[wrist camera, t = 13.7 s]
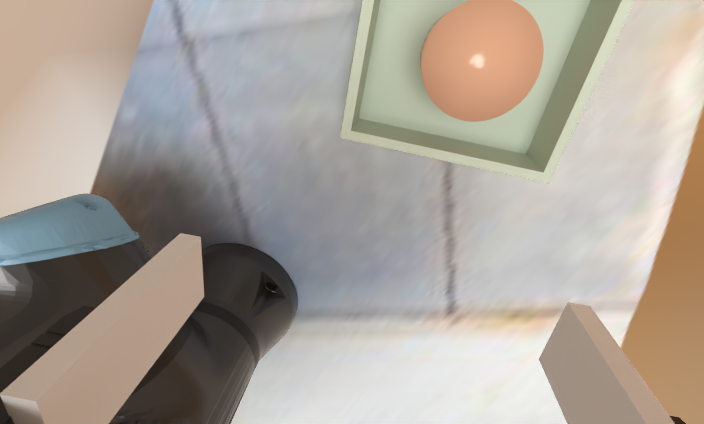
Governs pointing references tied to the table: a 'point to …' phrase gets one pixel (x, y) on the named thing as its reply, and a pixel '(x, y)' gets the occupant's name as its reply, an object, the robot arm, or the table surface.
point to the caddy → (484, 136)
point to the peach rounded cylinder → (481, 59)
